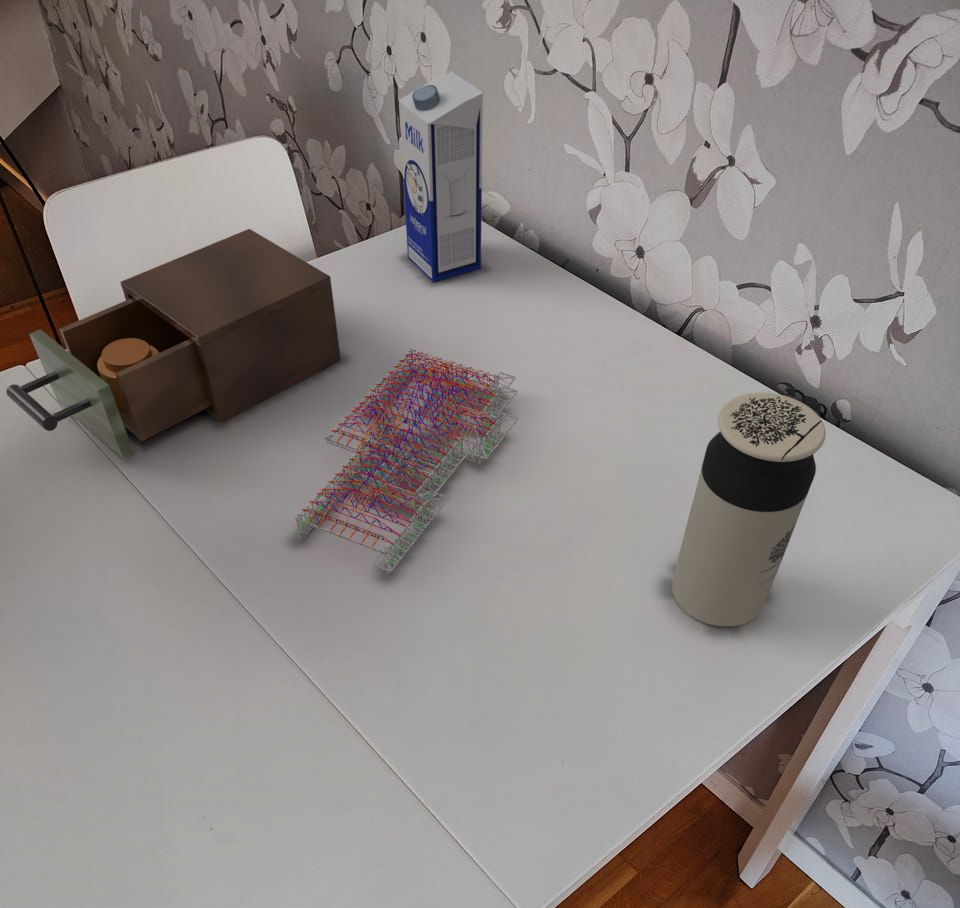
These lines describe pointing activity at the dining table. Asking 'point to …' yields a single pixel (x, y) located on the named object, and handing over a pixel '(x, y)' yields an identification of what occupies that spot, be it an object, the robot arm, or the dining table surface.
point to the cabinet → (245, 316)
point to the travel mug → (746, 506)
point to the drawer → (118, 377)
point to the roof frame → (411, 446)
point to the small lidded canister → (122, 363)
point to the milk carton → (443, 176)
